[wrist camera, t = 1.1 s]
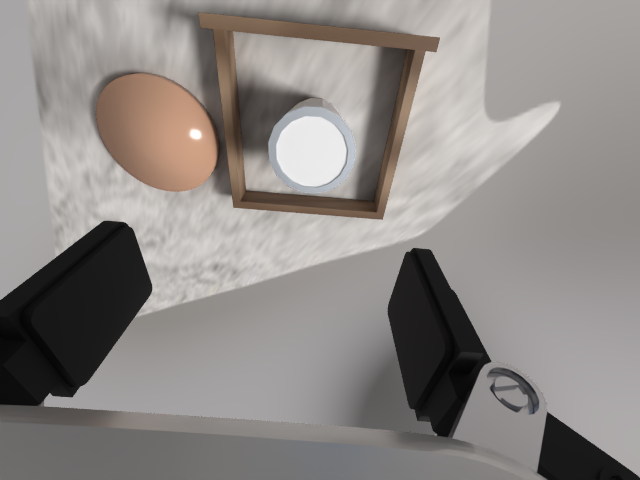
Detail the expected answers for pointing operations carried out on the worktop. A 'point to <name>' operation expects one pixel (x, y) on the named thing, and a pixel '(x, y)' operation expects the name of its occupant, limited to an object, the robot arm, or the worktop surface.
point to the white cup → (312, 147)
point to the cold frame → (228, 24)
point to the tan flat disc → (157, 131)
